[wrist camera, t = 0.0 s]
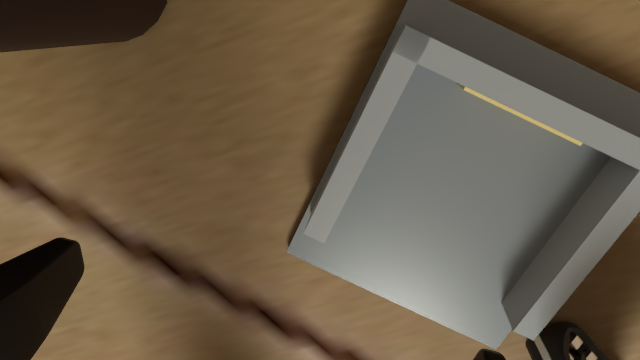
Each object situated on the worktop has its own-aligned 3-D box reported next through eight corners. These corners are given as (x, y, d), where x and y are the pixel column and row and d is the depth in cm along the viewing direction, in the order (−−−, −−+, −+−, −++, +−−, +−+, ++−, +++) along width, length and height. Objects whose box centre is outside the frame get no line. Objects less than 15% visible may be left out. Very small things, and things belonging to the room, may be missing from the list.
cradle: (493, 342, 27) (506, 381, 24) (288, 247, 27) (276, 275, 24) (674, 110, 21) (719, 125, 19) (414, -15, 21) (419, -21, 18)
